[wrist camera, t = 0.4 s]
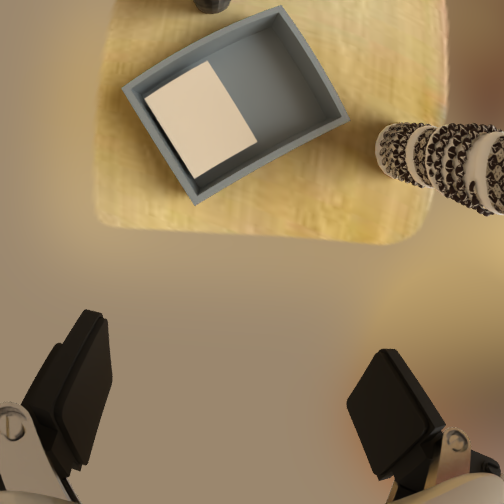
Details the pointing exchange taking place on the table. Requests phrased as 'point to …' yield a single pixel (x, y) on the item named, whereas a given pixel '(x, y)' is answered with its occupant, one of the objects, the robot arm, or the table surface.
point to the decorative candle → (447, 161)
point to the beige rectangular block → (200, 119)
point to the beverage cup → (212, 5)
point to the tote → (249, 95)
